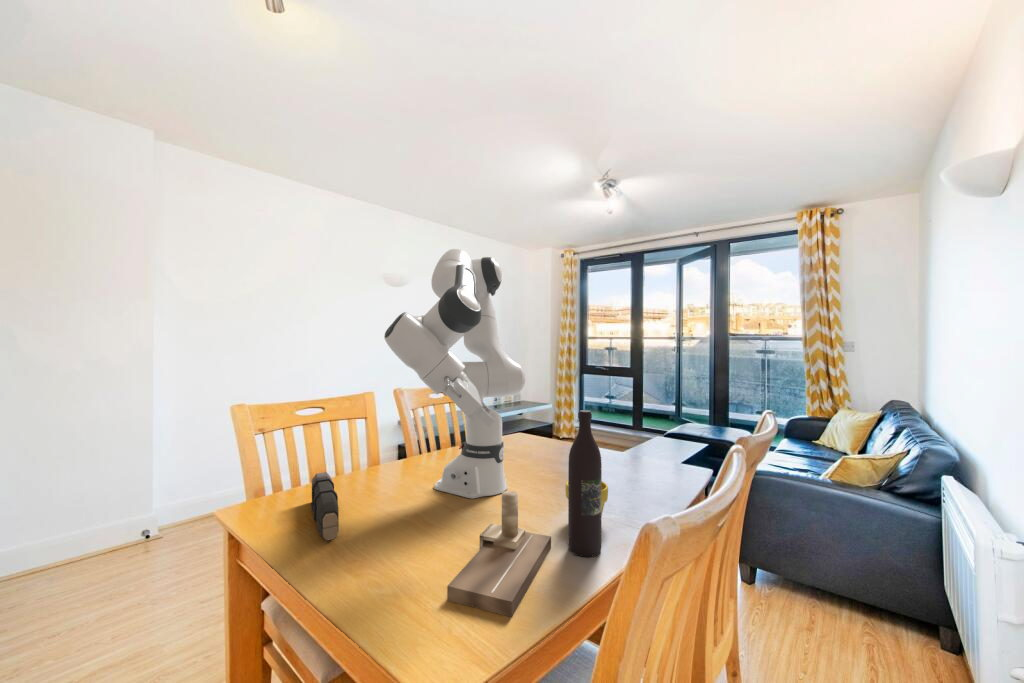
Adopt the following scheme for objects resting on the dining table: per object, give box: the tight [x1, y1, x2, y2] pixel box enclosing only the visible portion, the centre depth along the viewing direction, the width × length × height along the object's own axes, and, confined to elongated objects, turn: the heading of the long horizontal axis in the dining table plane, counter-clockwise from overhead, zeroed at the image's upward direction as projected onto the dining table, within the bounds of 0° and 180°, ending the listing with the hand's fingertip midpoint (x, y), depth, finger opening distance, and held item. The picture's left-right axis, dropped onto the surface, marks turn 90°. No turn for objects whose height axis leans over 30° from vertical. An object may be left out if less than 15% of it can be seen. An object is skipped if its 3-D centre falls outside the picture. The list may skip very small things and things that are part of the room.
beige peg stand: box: [479, 490, 526, 550], centre depth 87 cm, size 8×6×12 cm
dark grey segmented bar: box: [310, 471, 340, 541], centre depth 102 cm, size 11×7×30 cm
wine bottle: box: [567, 409, 603, 558], centre depth 88 cm, size 7×7×30 cm
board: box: [446, 531, 552, 618], centre depth 79 cm, size 12×24×3 cm, turn 159°
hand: (489, 418), depth 91 cm, fingers open, 8 cm apart
